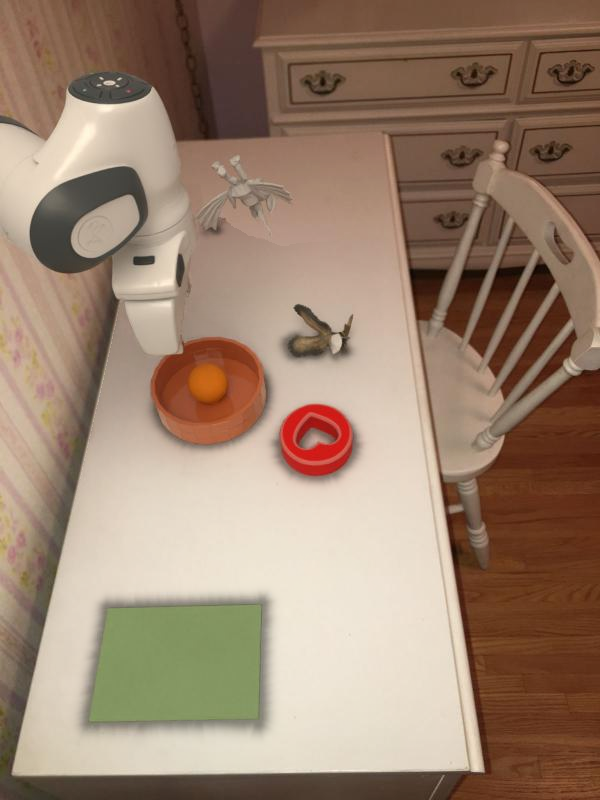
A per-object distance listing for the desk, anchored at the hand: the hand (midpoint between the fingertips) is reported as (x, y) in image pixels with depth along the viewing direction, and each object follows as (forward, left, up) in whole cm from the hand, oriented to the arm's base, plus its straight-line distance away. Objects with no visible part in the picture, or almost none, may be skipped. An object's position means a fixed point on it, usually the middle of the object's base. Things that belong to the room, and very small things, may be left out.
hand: (180, 320), depth 79 cm
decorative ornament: (+7, -17, -17) cm, 25 cm away
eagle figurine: (+19, -4, -17) cm, 26 cm away
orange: (+1, -1, -16) cm, 16 cm away
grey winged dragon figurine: (+29, +26, -17) cm, 43 cm away
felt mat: (-23, -28, -17) cm, 40 cm away
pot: (+1, -1, -17) cm, 17 cm away
